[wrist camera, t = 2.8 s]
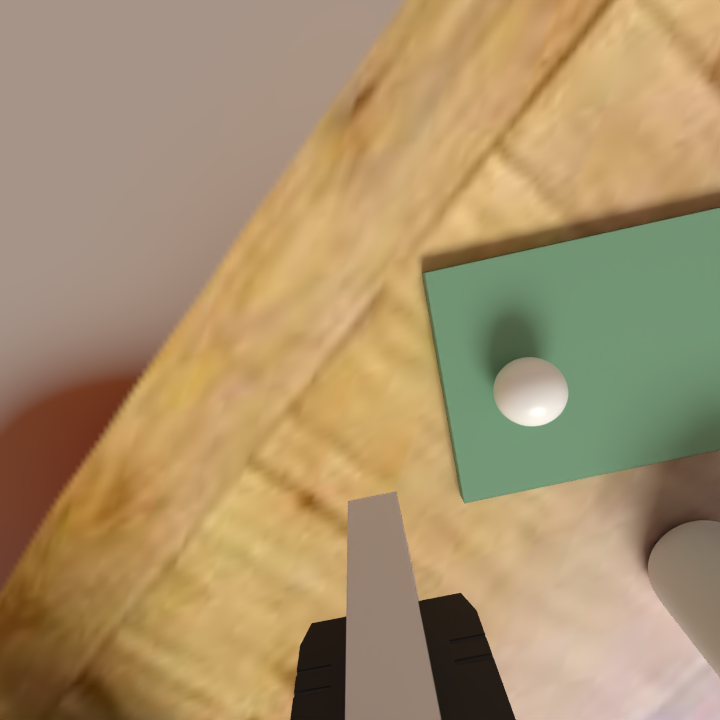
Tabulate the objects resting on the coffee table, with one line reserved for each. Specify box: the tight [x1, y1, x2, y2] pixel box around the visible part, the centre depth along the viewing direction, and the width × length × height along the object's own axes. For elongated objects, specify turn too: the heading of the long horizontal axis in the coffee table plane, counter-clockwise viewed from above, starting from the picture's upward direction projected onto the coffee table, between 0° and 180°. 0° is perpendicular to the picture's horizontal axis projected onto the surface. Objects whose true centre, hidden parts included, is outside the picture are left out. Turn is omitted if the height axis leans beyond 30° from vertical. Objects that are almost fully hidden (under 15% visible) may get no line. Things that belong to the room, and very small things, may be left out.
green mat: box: [422, 207, 720, 503], centre depth 23 cm, size 25×14×1 cm, turn 102°
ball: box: [493, 357, 568, 426], centre depth 21 cm, size 4×4×4 cm
